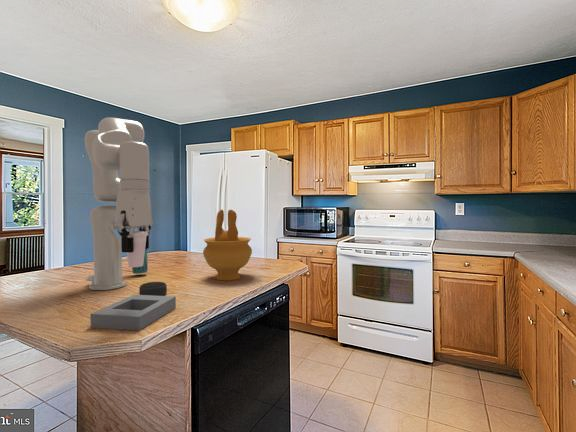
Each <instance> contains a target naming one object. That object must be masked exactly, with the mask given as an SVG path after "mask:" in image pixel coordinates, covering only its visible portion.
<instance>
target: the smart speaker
mask: <svg viewBox="0 0 576 432" xmlns="http://www.w3.org/2000/svg"><path fill="white" fill-rule="evenodd" d="M138 288H139V289H138V291H139V292H138V293H139V294H138V295H153V296H166V294H167V291H168V290H167V289H168V287H167V283H165V282H162V281H151V282H145V283H143V284H141V285H140V286H139V287H138Z"/></svg>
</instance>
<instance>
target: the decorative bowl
mask: <svg viewBox="0 0 576 432" xmlns="http://www.w3.org/2000/svg"><path fill="white" fill-rule="evenodd" d="M237 216H238V215H237V213H236V211H234V210H233V209H228V211H227V230H225V229H224V228H223V223H224V219H225V213H224V209H220V210H218V212H217V213H216V218H215V219H216V223H215V232H214V233H215V234H214V237H210V238H204V239H203V241H204V242H205V243H206V246H205V247H204V248H203V250H202V254H203V257H204V259H205V262H206V263H207V264H208V266H209V267H211V268H212V269H214V270H215V271H216V272H217V274H216V277H215V279H216V280H219V281H234V280H238V279H240V278H241V276H240V273H239V271H240V270H241V269H242V268H243V267H245V266H246V265H248V262H249V260H250V258H251V256H252V253H253V249H252V246H250V245H249V242H250V241H251V240H252V238H251V237H244V236H239V230H238V227H237V218H238V217H237Z"/></svg>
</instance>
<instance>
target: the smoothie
mask: <svg viewBox="0 0 576 432" xmlns="http://www.w3.org/2000/svg"><path fill="white" fill-rule="evenodd" d="M147 235H148V232H147V231H138V230H135V229H133V233H132V237H131V238H133V244H134V251H133V252H131V253H130V252H126V258H127V264H128V268H132V267H141V266H143V263H144V254H145V245H146V237H147Z"/></svg>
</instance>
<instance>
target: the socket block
mask: <svg viewBox="0 0 576 432" xmlns="http://www.w3.org/2000/svg"><path fill="white" fill-rule="evenodd" d="M176 301H177V299H176V296H171V295H170V296H169V295H163V296H153V295H140V294H132V295H130V296H128V297H126V298H123V299H121V300H118V301H117V302H114V303H112V304H109V305H107V306H105V307H103V308H100V309H98V310H96V311H93V312H91V313H89V314H90V315H89V316H90V318H89V319H90V322H89V323H90V328H97V329H112V330H113V329H114V330H129V331H141V330H143V329H144V327H145V328H146V327H148V326H149V325H151V324H152V323H154V322H155V321H157V320H159V319H161V318H162V317H163V316H165V315H166V314H168V313H170V312H172V311H173V310H174V309H176V307H177V304H176V303H177V302H176Z"/></svg>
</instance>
